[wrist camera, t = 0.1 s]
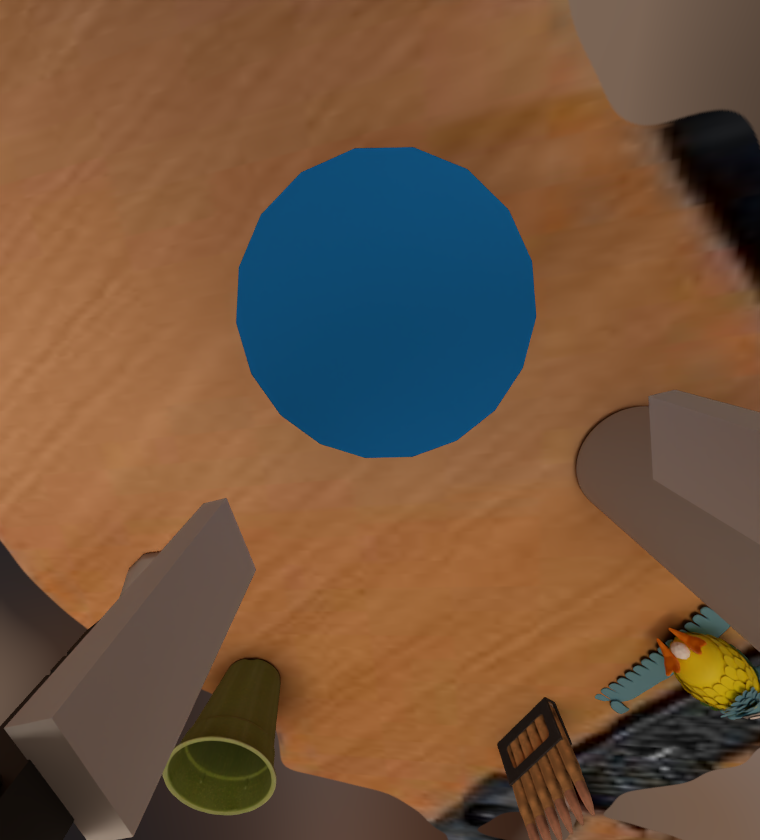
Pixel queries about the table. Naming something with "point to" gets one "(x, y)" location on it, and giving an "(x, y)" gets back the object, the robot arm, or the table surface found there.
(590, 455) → the cylinder vase
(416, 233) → the thermos
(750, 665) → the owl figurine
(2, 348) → the table surface
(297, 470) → the table surface
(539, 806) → the ammunition clip
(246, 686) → the plant pot
